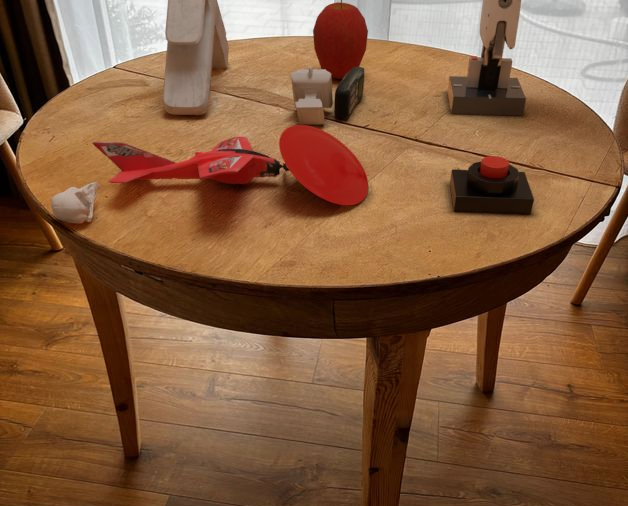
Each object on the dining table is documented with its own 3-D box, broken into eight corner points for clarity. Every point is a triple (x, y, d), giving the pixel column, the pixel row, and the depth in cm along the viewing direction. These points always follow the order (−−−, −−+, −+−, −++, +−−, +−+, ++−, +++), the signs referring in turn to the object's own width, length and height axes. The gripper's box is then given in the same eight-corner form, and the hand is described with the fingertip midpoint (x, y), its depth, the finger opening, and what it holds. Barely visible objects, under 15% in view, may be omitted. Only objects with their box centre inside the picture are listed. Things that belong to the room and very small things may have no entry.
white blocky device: (290, 56, 108) (285, 96, 105) (331, 56, 108) (328, 96, 104) (296, 97, 117) (291, 136, 113) (334, 98, 116) (331, 136, 112)
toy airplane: (302, 210, 83) (304, 169, 81) (75, 205, 79) (70, 162, 77) (283, 168, 107) (284, 135, 105) (107, 162, 103) (104, 128, 101)
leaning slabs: (186, 158, 130) (153, 96, 107) (195, 42, 134) (165, -42, 111) (225, 159, 129) (201, 96, 107) (233, 43, 133) (211, -42, 111)
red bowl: (381, 172, 96) (358, 199, 100) (304, 108, 94) (284, 139, 98) (350, 220, 86) (326, 248, 90) (263, 150, 84) (243, 182, 88)
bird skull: (118, 192, 89) (107, 168, 86) (87, 234, 85) (74, 210, 82) (83, 186, 91) (71, 161, 88) (51, 226, 87) (37, 202, 84)
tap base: (513, 93, 121) (517, 75, 119) (523, 117, 113) (527, 98, 111) (447, 91, 122) (449, 74, 120) (451, 115, 114) (453, 96, 112)
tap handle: (506, 85, 116) (511, 56, 113) (507, 88, 115) (513, 59, 112) (465, 84, 116) (469, 55, 113) (466, 87, 115) (470, 58, 112)
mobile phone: (350, 92, 108) (368, 60, 119) (332, 90, 109) (352, 59, 120) (349, 121, 112) (367, 88, 122) (332, 120, 112) (351, 87, 123)
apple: (303, 73, 130) (302, -6, 121) (346, 64, 134) (349, -13, 125) (331, 90, 123) (332, 7, 114) (376, 80, 127) (381, -1, 118)
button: (505, 168, 90) (507, 156, 89) (508, 180, 88) (511, 168, 86) (478, 167, 90) (480, 155, 89) (480, 179, 88) (483, 167, 87)
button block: (521, 186, 94) (527, 159, 91) (530, 214, 88) (537, 186, 85) (449, 183, 95) (453, 156, 92) (453, 211, 89) (457, 183, 86)
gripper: (539, -23, 97) (515, 104, 109) (522, -45, 109) (502, 72, 121) (487, -23, 98) (468, 103, 110) (476, -45, 110) (460, 71, 122)
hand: (486, 85), depth 116 cm, fingers closed
